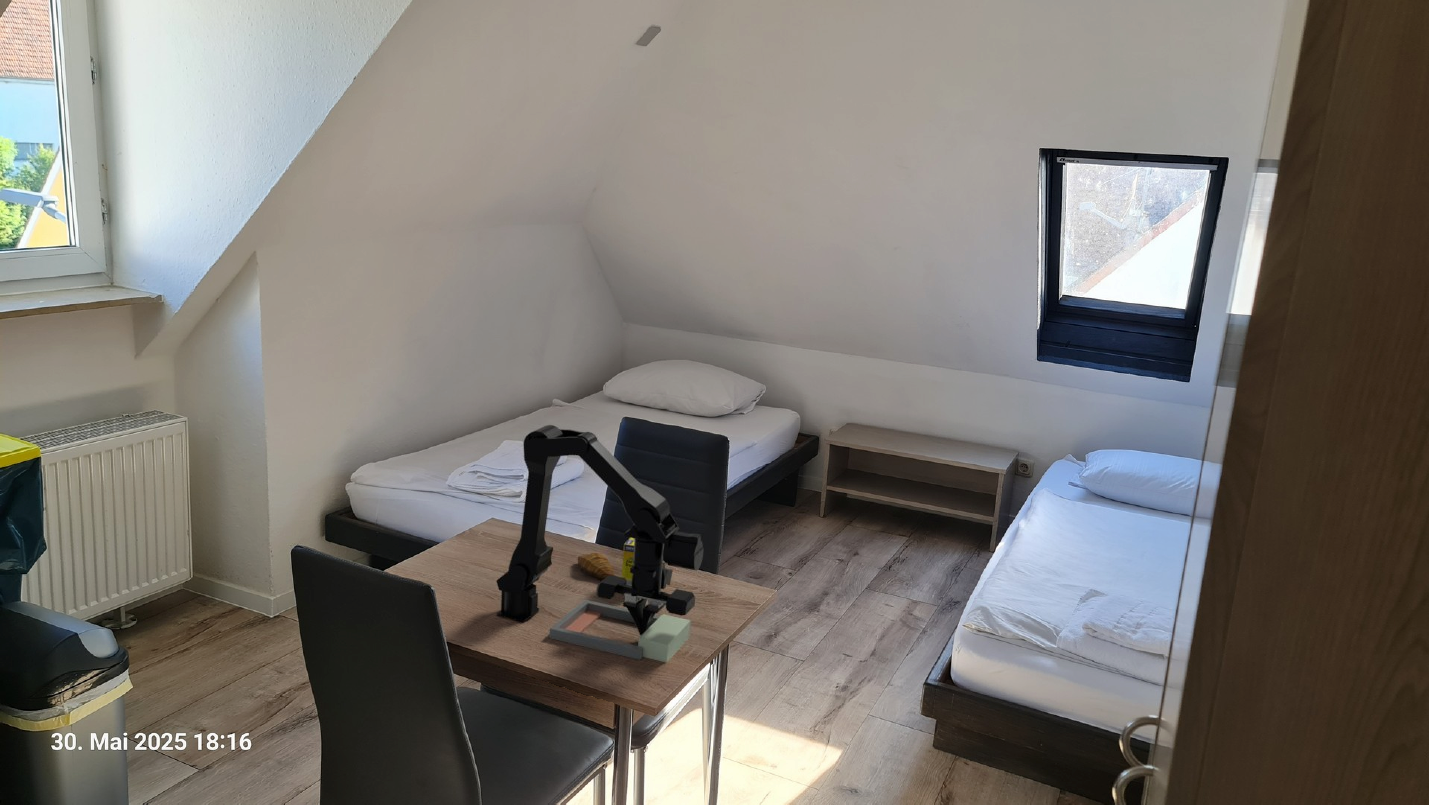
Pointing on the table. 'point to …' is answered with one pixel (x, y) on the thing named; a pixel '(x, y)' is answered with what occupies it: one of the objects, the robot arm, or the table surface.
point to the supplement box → (628, 560)
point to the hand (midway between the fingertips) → (643, 635)
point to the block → (664, 637)
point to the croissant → (595, 565)
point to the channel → (584, 617)
